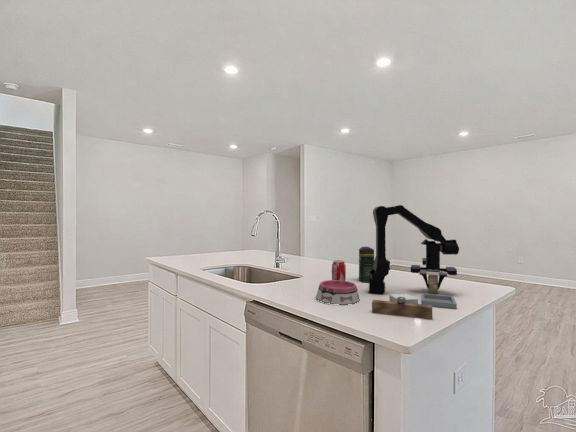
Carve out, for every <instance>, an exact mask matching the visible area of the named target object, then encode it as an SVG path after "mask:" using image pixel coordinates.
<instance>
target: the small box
mask: <svg viewBox="0 0 576 432" xmlns="http://www.w3.org/2000/svg"><path fill="white" fill-rule="evenodd" d="M397 297H404V298H405V303H413V304H419V299H418V297H415V296H413V295H410V294H409V293H400V294H398V293H396V294H395V293H394V294H393V293H391V294H388V301H392V302H397Z"/></svg>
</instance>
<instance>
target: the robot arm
mask: <svg viewBox="0 0 576 432" xmlns="http://www.w3.org/2000/svg"><path fill="white" fill-rule="evenodd" d="M392 215H399V216H400V217H401V218H403V219H404V220H406V221H407V222H408V223H409V224H411V225H413V226H414V227H415V228H416V229H418V231H419V232H420V233H421V234H422V236H424V237H425V238H424V240H423V241H422V242H421V243H420V244H421V245H423V246H424V245H425V257H422V263H421V264H422V265H420V264H411V266H410V273H415V274H416V273H417V274H419V275H420V276H422V278H423V280H424V283H425V285H426V288H427V290H428V275H427V272H428V273H429V272H430V273H438V290H440V287H441V286H442V282H443V281H444V279H445V277H448V275H449V276H458V270H457V268H456V267H455V266H446V267H445V268H443V267H442V268H441V254H442V256H443V255H446V256H448V255H455V256H456V255H458V254H459V251H460V247H459V244H458V242H457V240H456V239H446V238H445V237H444V235H443V233H442V229H440V228H439V227H437V226H435V225H433V224H431V223H427V222H425V221H424V220H423V219H421V218H420V217H419V216H417V215H416V214H414V213H413V212H412V211H410V210H408V209H407V208H406V207H405V206H403V205H402V204H397V205H393V206H389V207H386V206H385V205H384V206H383V205H380V206H376V207H375V208H373V210H372V216H373V220H374V224H375V256H374V266H373V269H372V270H371V271H370V272H369V273H368V274H369V277H371V278H369V282H368V292H367V293H368V294H375V295H384V293H385V292H386V282H385V278H386V276H388V275H389V271H391V267H390V265H391V261H390V260H388V259H387V258H386V250H387V249H386V226H387V225H386V224H387V222H388V218H389V216H392ZM422 266H423V267H422ZM424 266H425V267H424Z"/></svg>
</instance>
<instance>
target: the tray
mask: <svg viewBox="0 0 576 432" xmlns="http://www.w3.org/2000/svg"><path fill="white" fill-rule="evenodd" d="M420 298H421V304H423V305H432V308H438V309H439V308H442V309H450V310H451V309H452V310H457V302H456V300H455V298H454V295H445V294H443V295H441V294H429V293H421V297H420Z"/></svg>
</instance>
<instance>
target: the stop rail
mask: <svg viewBox="0 0 576 432" xmlns="http://www.w3.org/2000/svg"><path fill="white" fill-rule="evenodd" d="M371 313H373V314H379V315H381V314H383V315H391V316H397V317H398V316H399V317H405V318H407V317H408V318H415V319H416V318H417V319H427V320H433V307H432V305H423V304H422V303H418V304H413V303H405V298H404V297H397V302H392V301H389V300H380V299H372V301H371Z"/></svg>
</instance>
